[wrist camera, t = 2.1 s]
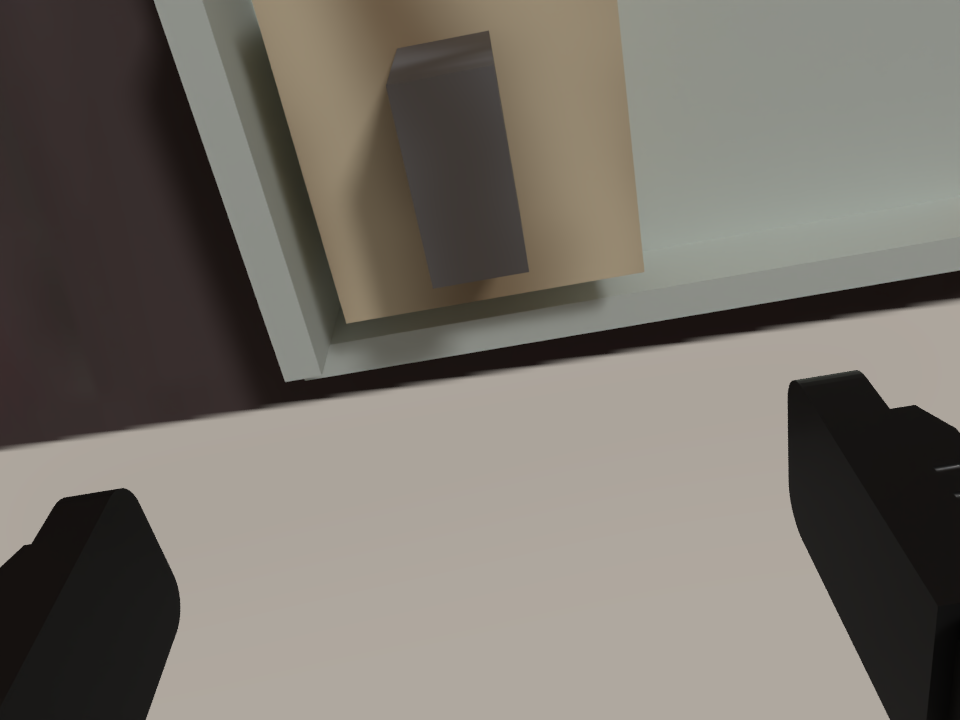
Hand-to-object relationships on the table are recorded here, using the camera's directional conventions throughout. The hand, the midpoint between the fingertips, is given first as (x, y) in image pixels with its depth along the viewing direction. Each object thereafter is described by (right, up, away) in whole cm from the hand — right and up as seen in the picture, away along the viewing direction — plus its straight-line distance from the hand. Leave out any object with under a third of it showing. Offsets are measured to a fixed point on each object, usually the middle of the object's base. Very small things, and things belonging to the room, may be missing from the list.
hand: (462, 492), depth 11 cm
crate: (0, +10, +18) cm, 20 cm away
